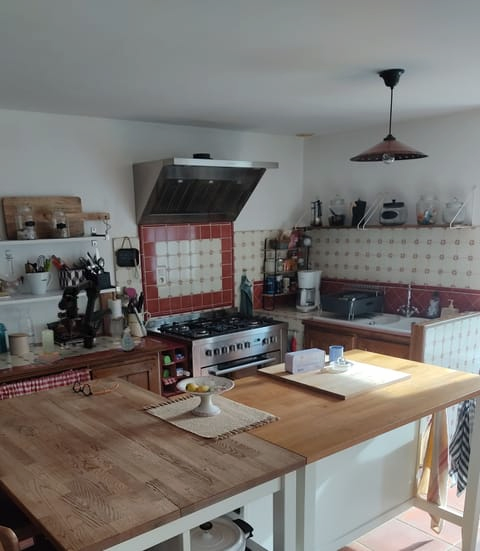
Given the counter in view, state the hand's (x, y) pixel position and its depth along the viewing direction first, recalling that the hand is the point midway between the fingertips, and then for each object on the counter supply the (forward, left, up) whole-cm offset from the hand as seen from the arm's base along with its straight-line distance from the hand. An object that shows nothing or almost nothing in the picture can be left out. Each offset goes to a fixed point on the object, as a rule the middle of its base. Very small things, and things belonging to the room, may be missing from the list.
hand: (73, 332), depth 294 cm
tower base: (+14, -8, -13) cm, 21 cm away
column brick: (+14, -8, -9) cm, 18 cm away
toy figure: (-13, +28, -13) cm, 34 cm away
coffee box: (-30, +15, -13) cm, 36 cm away
